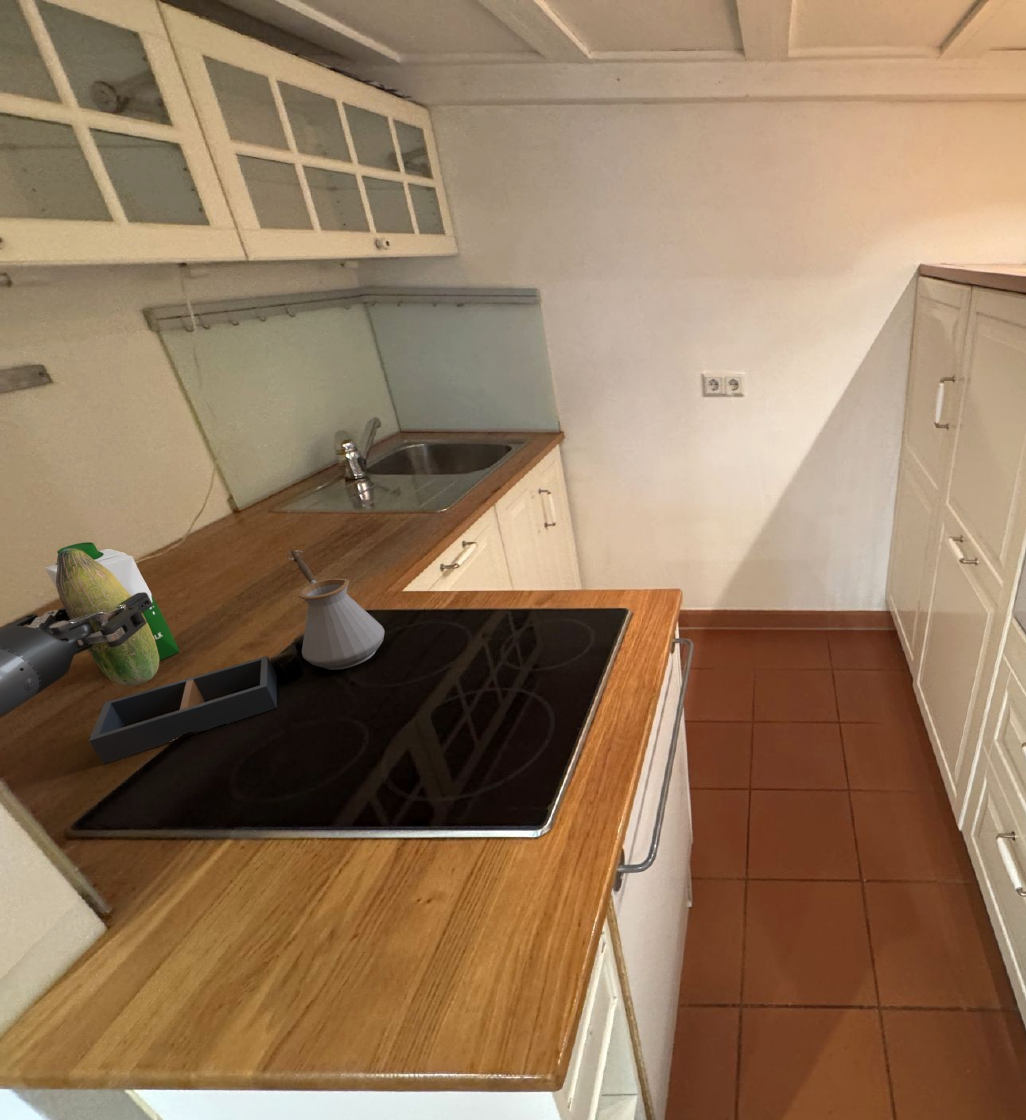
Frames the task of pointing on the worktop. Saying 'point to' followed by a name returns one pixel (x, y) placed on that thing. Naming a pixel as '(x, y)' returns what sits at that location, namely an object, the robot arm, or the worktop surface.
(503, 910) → the worktop surface
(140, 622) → the robot arm
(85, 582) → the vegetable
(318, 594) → the coffee pot
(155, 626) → the milk carton
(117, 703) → the divided tray
